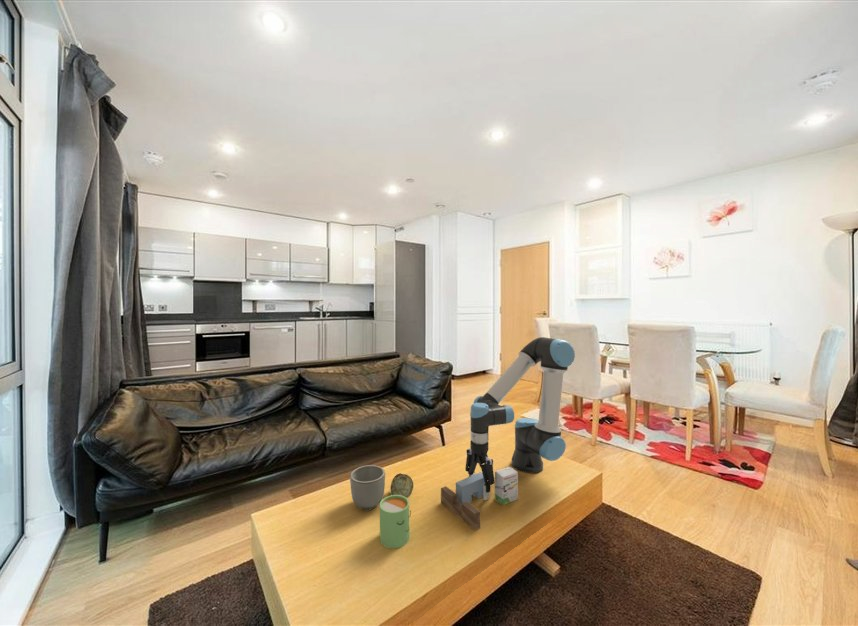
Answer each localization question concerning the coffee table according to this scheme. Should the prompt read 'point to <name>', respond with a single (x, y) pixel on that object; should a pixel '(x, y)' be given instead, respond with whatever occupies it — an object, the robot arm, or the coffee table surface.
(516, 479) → the ink box
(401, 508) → the mug
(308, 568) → the coffee table surface
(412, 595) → the coffee table surface
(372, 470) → the planter
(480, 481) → the blue rectangular block
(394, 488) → the seashell
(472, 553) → the coffee table surface
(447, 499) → the walnut rail
